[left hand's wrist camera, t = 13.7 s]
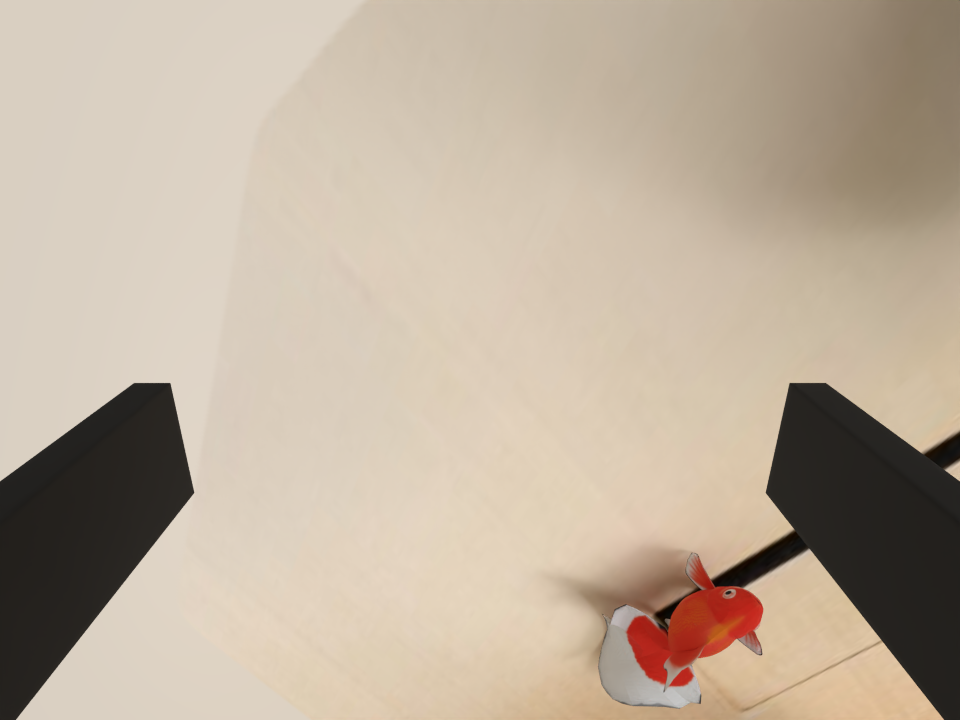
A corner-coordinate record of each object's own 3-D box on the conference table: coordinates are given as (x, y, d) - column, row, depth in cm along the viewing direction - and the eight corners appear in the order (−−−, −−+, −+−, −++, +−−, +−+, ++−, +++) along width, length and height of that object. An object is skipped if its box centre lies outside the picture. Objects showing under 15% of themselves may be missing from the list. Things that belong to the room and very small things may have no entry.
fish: (814, 659, 45) (804, 766, 37) (635, 664, 54) (596, 751, 46) (755, 535, 45) (732, 616, 37) (586, 562, 54) (538, 631, 46)
